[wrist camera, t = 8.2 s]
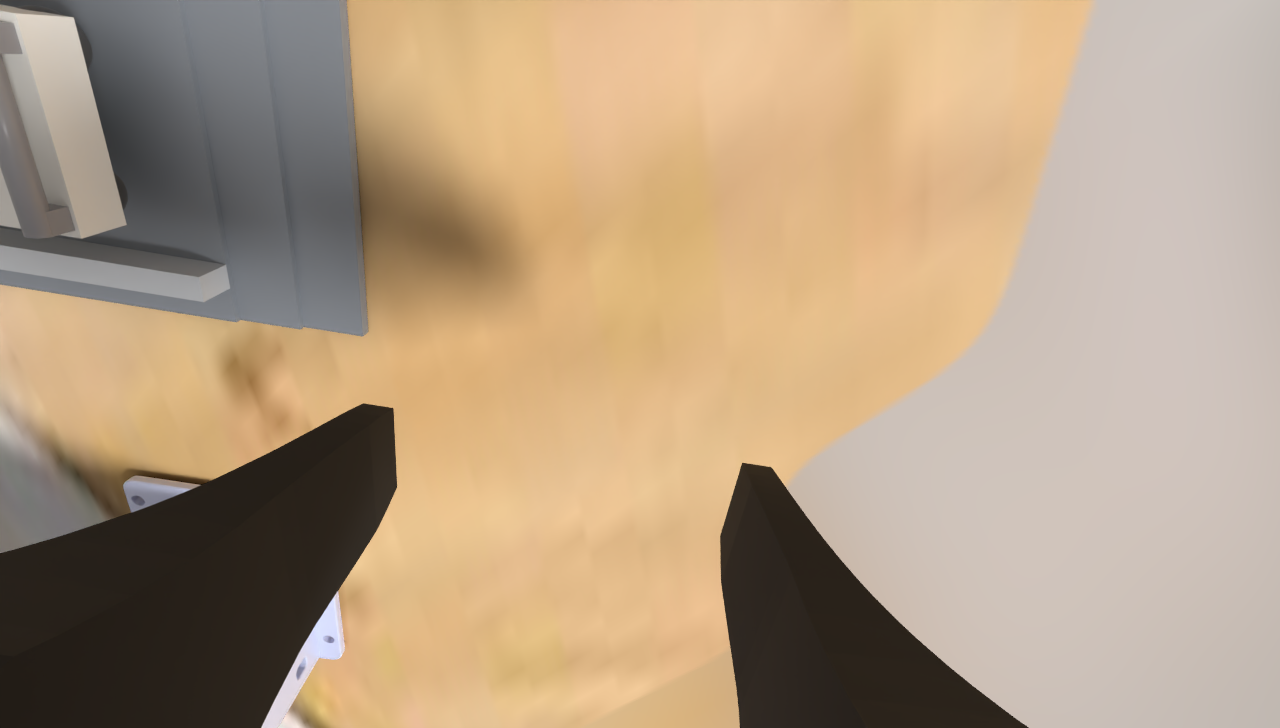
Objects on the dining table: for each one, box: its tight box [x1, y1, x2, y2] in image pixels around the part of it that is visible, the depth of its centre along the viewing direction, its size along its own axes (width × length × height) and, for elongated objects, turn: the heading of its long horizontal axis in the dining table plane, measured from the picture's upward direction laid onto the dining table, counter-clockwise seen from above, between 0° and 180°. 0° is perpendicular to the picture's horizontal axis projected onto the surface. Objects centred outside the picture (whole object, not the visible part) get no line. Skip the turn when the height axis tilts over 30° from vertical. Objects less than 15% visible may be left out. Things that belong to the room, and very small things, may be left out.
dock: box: [0, 0, 368, 336], centre depth 16 cm, size 12×16×2 cm
